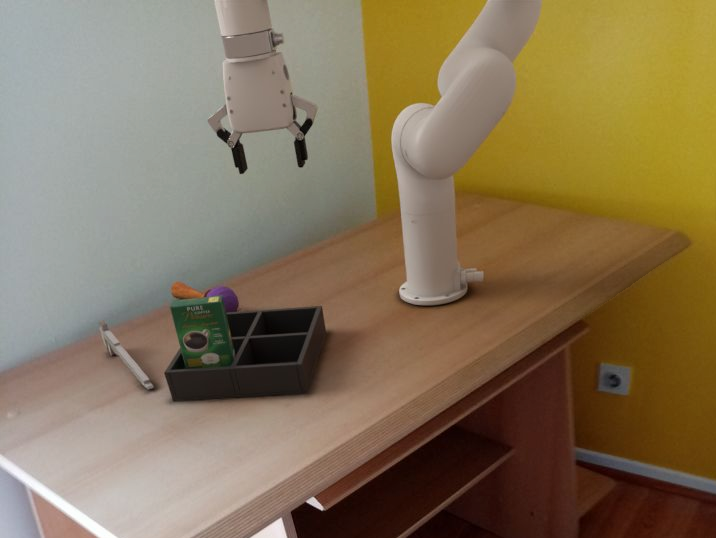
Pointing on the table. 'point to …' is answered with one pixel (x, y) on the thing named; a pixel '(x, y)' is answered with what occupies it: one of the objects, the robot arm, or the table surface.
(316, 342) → the organizer
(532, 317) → the table surface
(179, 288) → the kendama
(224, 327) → the coffee box
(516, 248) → the table surface
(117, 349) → the caliper
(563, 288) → the table surface
